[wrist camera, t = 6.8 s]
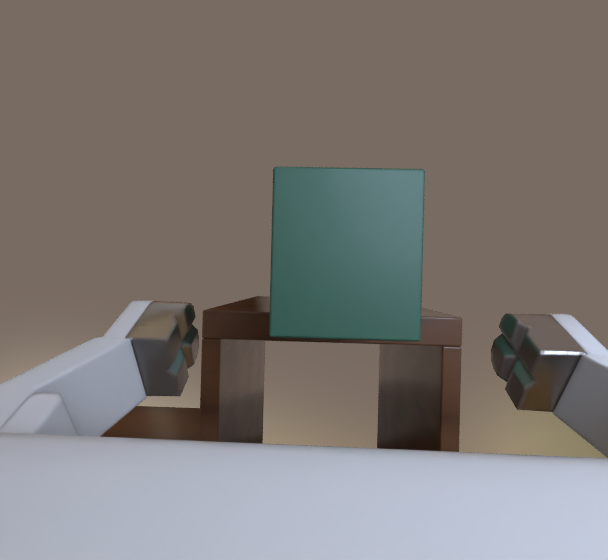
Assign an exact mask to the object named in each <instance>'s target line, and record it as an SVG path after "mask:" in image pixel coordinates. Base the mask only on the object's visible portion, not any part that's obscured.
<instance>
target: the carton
mask: <svg viewBox="0 0 608 560" xmlns="http://www.w3.org/2000/svg"><path fill="white" fill-rule="evenodd" d="M424 182H425V171H424V170H423V169H382V168H381V169H380V168H379V169H378V168H322V167H321V168H320V167H318V168H317V167H274V169H273V206H272V246H271V283H270V321H269V335H270V337H281V338H314V339H347V340H380V341H413V342H418V341H420V339H421V302H422V300H421V299H422V262H423V222H424Z"/></svg>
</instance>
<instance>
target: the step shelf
mask: <svg viewBox="0 0 608 560" xmlns="http://www.w3.org/2000/svg"><path fill="white" fill-rule="evenodd" d="M269 321H270V297H263V296H257V297H253V298H249V299H245V300H242V301H238V302H234V303H230V304H226V305H223V306H218V307H215V308H211V309H207V310H204V311H203V324H202V337H203V338H204V339H202V361H201V398H200V408H174V407H145V406H136V407H135V408H134V409H132V410H131V411H130V412H129V413H128V414H126V415H125V416H124V417H123V418H122V419H120V420H119V421H118V422H117V423H116V424H115V425H113V426H112V427H111V428H110V429H109V430H107V431H106V432H105V433H104V434H103V435H101V436H100V437H119V438H143V439H166V440H190V441H213V442H237V443H260V444H262V440H263V439H262V438H263V401H264V364H265V341H266V340H267V341H299V342H332V343H364V344H380V358H379V397H378V398H379V400H378V438H377V448H379V449H403V450H427V451H450V452H459V425H460V384H461V383H460V382H461V347H460V346H461V344H462V343H461V342H462V318H461V317H457V316H453V315H449V314H445V313H441V312H437V311H433V310H429V309H425V308H421V339H420V341H418V342H413V341H380V340H347V339H314V338H281V337H270V335H269Z"/></svg>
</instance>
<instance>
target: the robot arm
mask: <svg viewBox="0 0 608 560" xmlns="http://www.w3.org/2000/svg"><path fill="white" fill-rule="evenodd" d="M194 318H195V312H194V307H193V305H192V304H191V303H180V302H160V301H133V302H131V303H130V304H129V305H128V306H127V308H126V309H125V310H124V311H123V312H122V314H121V315H120V316H119V317H118V319H117V320H116V321H115V322H114V324H113V325H112V326H111V327H110V328H109V330H108V331H107V332H106V333H105V335H104V336H103V337H96V338H94V339H92V340H90V341H87V342H85V343H83V344H81V345H79V346H77V347H75V348H73V349H71V350H69V351H67V352H65V353H63V354H61V355H59V356H57V357H55V358H53V359H51V360H48V361H46V362H45V363H43V364H41V365H38V366H36V367H34V368H32V369H30V370H28V371H26V372H24V373H22V374H20V375H18V376H16V377H14V378H11V379H9V380H7V381H6V382H3V383H1V384H0V560H608V351H607V349H606V348H604V347H603V346H602V345H601V344H600V343H599V342H598V341H597V340H596V339H595V338H594V337H593V336H592V335H591V334H590V333H589V332H588V331H587V330H586V329H585V328H584V327H583V326H582V325H581V324H580V323H579V322H578V321H577V320H576V319H575V318H574V317H573V316H570V315H568V314H505V315H504V316H503V318H502V319H501V322H500V325H499V328H500V329H501V332H502V334H501V335H500V336H499V337H497V338H496V339H495V340H494V342H493V346H492V349H491V361H492V365H493V368H494V370H495V372H496V374H497V376H499V377H500V378H502V379H503V380H505V381H506V382H507V385H506V388H505V390H506V391H507V393H508V395H509V396H510V398H511V400H512V402H513V403H514V405H515V407H516V408H517V410H532V411H549V412H553V414H554V415H555V416H557V417H558V418H559V419H560V420H561V421H563V422H564V423H565V424H566V425H568V426H569V427H570V428H571V429H573V430H574V431H575V432H576V433H577V434H579V435H580V436H581V437H582V438H584V439H585V440H586V441H587V442H589V443H590V444H591V445H592V446H594V447H595V448H596V449H597V450H598V451H600V452H601V453H602V454H603V455H605V456H606V457H607V458H586V457H561V456H560V457H559V456H539V455H538V456H537V455H515V454H493V453H471V452H450V451H427V450H403V449H379V448H356V447H354V448H353V447H331V446H307V445H283V444H260V443H237V442H213V441H190V440H166V439H143V438H119V437H100V436H101V435H103V434H104V433H105V432H106V431H107V430H109V429H110V428H111V427H112V426H113V425H115V424H116V423H117V422H118V421H119V420H120V419H122V418H123V417H124V416H125V415H126V414H128V413H129V412H130V411H131V410H132V409H134V408H135V407H136V406H137V405H138V404H139V403H141V402H142V401H143V400H144V399H145V398H146V396H180V395H181V393H182V391H183V388H184V386H185V384H186V382H187V379H188V377H189V376H188V371H187V369H188V368H189V367H191V366H192V365H194V363H195V360H196V358H197V354H198V348H199V336H198V330H197V329H196V328H195V327H194V326H193V325H192V322H193V320H194Z"/></svg>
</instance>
